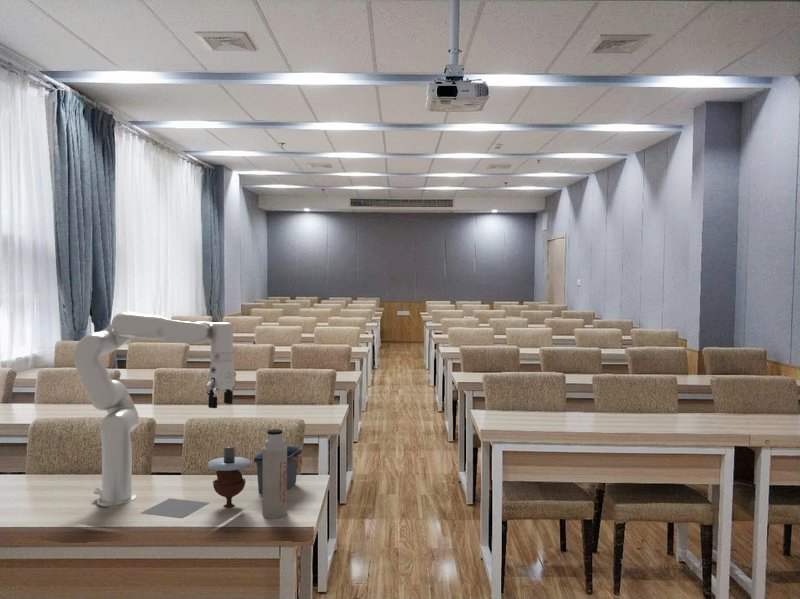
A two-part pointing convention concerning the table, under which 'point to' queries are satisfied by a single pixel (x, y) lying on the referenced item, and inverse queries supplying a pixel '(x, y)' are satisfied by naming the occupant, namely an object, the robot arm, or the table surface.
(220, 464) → the lid
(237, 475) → the ice cream bowl
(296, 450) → the storage bin
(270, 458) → the thermos bottle
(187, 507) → the mat
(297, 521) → the table surface
